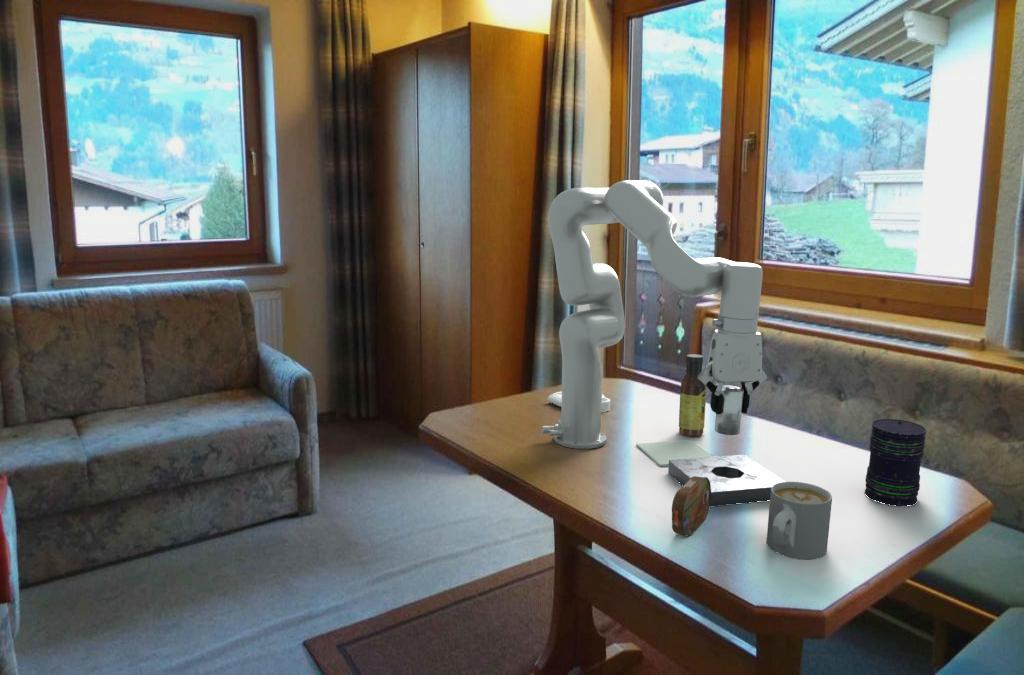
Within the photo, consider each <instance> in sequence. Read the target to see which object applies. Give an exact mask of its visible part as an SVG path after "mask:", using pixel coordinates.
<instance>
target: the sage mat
mask: <svg viewBox="0 0 1024 675" xmlns="http://www.w3.org/2000/svg"><path fill="white" fill-rule="evenodd" d="M635 446H636V447H637V448H638V449H639V450H640V451H642V452H643V453H644V455H646V456H648V457H649V458H650V459H651V460H652V461H653V462H654V463H656V464H657V465H658V467H661V468H663V467H669V460H678V459H691V458H705V457H714V456H713V455H712V454H711V453H709V452H708V451H706V450H705V449H704V448H703V447H701V446H700V445H698V444H697V443H695V441H693V440H691V439H686V440H685V439H684V440H670V441H669V440H668V441H658V442H644V443H643V442H642V443H636V445H635Z"/></svg>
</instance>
